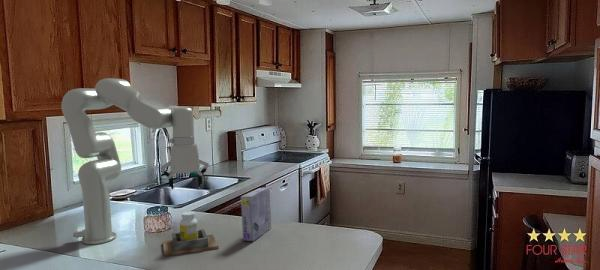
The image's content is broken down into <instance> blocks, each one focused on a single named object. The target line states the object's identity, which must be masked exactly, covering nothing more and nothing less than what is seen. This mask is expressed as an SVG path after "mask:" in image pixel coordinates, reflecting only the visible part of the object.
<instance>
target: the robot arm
mask: <svg viewBox="0 0 600 270" xmlns="http://www.w3.org/2000/svg"><path fill="white" fill-rule="evenodd" d="M60 106H61V111H62V115H63V117H64V120H65V122H66V124H67V126H68V129H69V130H68V131H69V134H70V137H71V140H72V143H73V147H74V151H75V153H76V155H77V156H78V157H79V158H81V159H89V158H90V159H91V158H97V159H95V160H90V161H87V162H85V163H83V164H82V165H81V166H80V167H79V169H78V171H77V172H78V173H77V176H78V181H79V183H80V184H79V185H80V187H81V193H82V203H83V204H82V205H83V213H84V214H83V215H84V217H83V218H84V229H82V230H81V231H73V232H72V236H73V238H74V237H75V238H76V239H77V238H81V243H82V244H85V245H98V244H104V243H108V242H111V241H113V240H115V239H116V238H117V232H115V231H113V229H112V213H111V200H110V199H111V198H110V192H109V189H108V187H107V186H106V184H105V183H107V182H111V181H113V180H114V181H115V180H117V179H118V178H119V177H120V176H121V173H122V165H121V161H120V157H119V154H118V153H119V152H118V151H117V147H116V144H115V141H114V139H113V137H112V136H111V134H108V133H106V132H102V131H100V132H96V130H95V128H94V125H93V121H92V119H91V118H90V116H89V115H87V113H86V112H85V111H95V110H97V111H98V110H103V109H108V108H110V107H111V106H115V107H117V108H119V109H121V110H123V111H125V112H126V113H127V115H128V116H129V117H130V119H132V120H133V121H134V122H136V123H138V124H140V125H142V126H144V127H146V128H149V129H154V130H159V129H167V128H172V137H171V138H169V139H168V142H169V143H170V144H172V145H171V146H170V148H171V149H170V159H169V160H170V161H168V162H165V163H164V164H163V165H160V167H159V168H160V170H161V172H162V174H163V175H164V176H166V177H167V178H168V187H170V188H171V190H174V177H173V176H175V174H187V173H189V174H190V173H197V176H196V179H197V187H199V188H201V185H202V184H203V175H204V174H205V173H206V172H207V169H208V167H209V162H207V161H204V160H201V159H200V156H199V149H198V145H197V144H195V123H194V121H195V120H194V110H193V109H192V108H191V107H169V106H166V107H153V106H150V105H149V104H146V103H145V102H142V94H141V93H140V92H139V91H137V90H135V89H133V88H132V85H131V83H129V81H127V80H126V79H123V78H112V77H111V78H109V77H108V78H102V79H100V80H98V82H96V84H95V87H94V88H87V87H85V88H84V87H83V88H81V87H80V88H74V89H71V90H68V91H67V92H66V93H65V94H64V95H63V97H62V100H61V105H60ZM200 165H202V166H203V168H202V169H201V170H200ZM168 167H170V172H168V171H167V170H166V168H168Z"/></svg>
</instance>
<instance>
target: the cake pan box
mask: <svg viewBox="0 0 600 270" xmlns="http://www.w3.org/2000/svg"><path fill="white" fill-rule="evenodd" d="M270 191H271V190H270V187H269V186H268V187H267V186H266V187H259V188H257V189H254V190H252V191H250V192H247V193H245V194H243V195H241V196H240V208H241V210H240V211H241V223H242V225H241V226H242V239H243V241H244V242H245V241H246V242H252V243H253V242H255V241H256V240H257V239H258V238H260V237H262V236H264V235H265V234H266V233H267V232H268V231H269V230H271V229H272V214H271V211H272V210H271V197H270V196H271V193H270Z"/></svg>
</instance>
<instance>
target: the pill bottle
mask: <svg viewBox="0 0 600 270" xmlns="http://www.w3.org/2000/svg"><path fill="white" fill-rule="evenodd" d="M195 216H196V213H195V212H194V211H184V212H182V213H181V218H182V219H181V220H180V221H179V232H180V238H181V241H184V240H192V239H198V230H199V224H198V220H197V218H195Z"/></svg>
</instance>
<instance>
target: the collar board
mask: <svg viewBox="0 0 600 270" xmlns="http://www.w3.org/2000/svg"><path fill="white" fill-rule="evenodd" d="M171 237H172V239H170V240H163V241H162V246H163V247H162V248H163V255H164V257H169V256H175V255H176V256H177V255H182V254H183V255H184V254H190V253H191V254H192V253H197V252H203V251H210V250H217V249H219V243H218V242H217V240H216V238H215V235H214V234H207V233H206V232H205V229H204V228H201V229H198V239H192V240H184V241H181V238H180V231H179V232H178V231H177V232H172V233H171Z"/></svg>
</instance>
